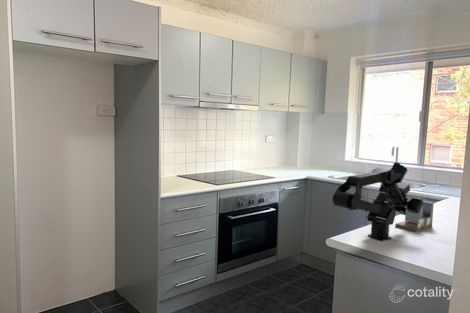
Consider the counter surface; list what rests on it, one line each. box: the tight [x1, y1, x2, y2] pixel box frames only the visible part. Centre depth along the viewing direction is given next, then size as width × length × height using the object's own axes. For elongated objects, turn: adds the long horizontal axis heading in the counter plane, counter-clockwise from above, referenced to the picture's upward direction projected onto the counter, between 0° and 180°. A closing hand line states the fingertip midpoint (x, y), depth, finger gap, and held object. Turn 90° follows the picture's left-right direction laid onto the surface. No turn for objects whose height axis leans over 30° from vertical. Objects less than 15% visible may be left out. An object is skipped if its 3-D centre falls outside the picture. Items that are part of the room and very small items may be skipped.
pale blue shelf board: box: [404, 206, 429, 224], centre depth 158 cm, size 4×9×9 cm, turn 36°
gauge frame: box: [395, 217, 433, 233], centre depth 159 cm, size 14×9×5 cm, turn 126°
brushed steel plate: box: [422, 200, 434, 225], centre depth 162 cm, size 2×9×10 cm, turn 36°
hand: (404, 214), depth 153 cm, fingers closed
